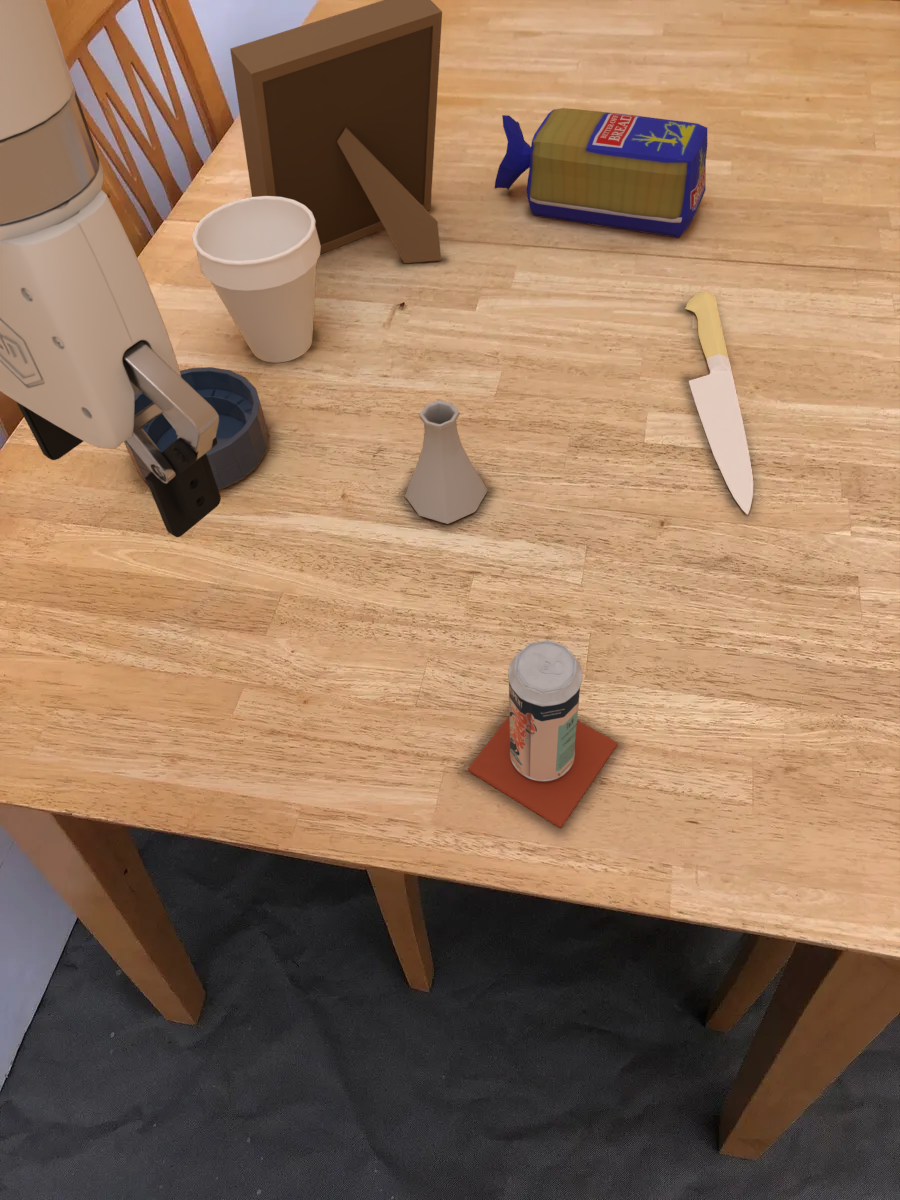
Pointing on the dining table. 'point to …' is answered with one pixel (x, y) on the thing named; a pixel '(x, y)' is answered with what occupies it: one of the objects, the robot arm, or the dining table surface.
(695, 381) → the knife
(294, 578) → the dining table surface
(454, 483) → the flask
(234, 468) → the bowl
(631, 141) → the bread
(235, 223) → the cup
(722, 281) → the dining table surface
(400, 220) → the photo frame
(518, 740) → the beer can
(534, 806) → the mat
